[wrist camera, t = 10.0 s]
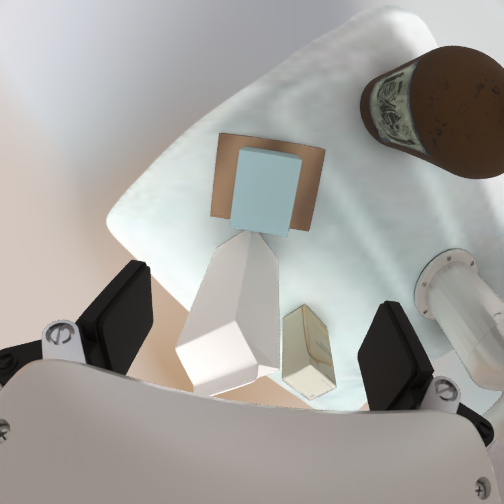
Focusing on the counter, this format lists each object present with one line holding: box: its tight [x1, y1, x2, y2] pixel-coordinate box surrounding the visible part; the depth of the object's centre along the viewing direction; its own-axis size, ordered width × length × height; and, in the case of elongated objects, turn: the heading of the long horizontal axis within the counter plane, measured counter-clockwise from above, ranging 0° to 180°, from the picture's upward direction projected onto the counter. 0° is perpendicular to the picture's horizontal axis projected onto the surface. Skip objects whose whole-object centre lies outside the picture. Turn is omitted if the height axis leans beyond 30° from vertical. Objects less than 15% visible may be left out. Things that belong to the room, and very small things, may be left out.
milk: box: [175, 230, 280, 396], centre depth 28 cm, size 6×6×22 cm
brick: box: [229, 146, 302, 237], centre depth 30 cm, size 6×8×5 cm
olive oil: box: [360, 46, 504, 179], centre depth 17 cm, size 11×11×25 cm
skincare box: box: [282, 305, 337, 400], centre depth 37 cm, size 6×4×12 cm
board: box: [210, 133, 325, 231], centre depth 33 cm, size 12×10×2 cm
